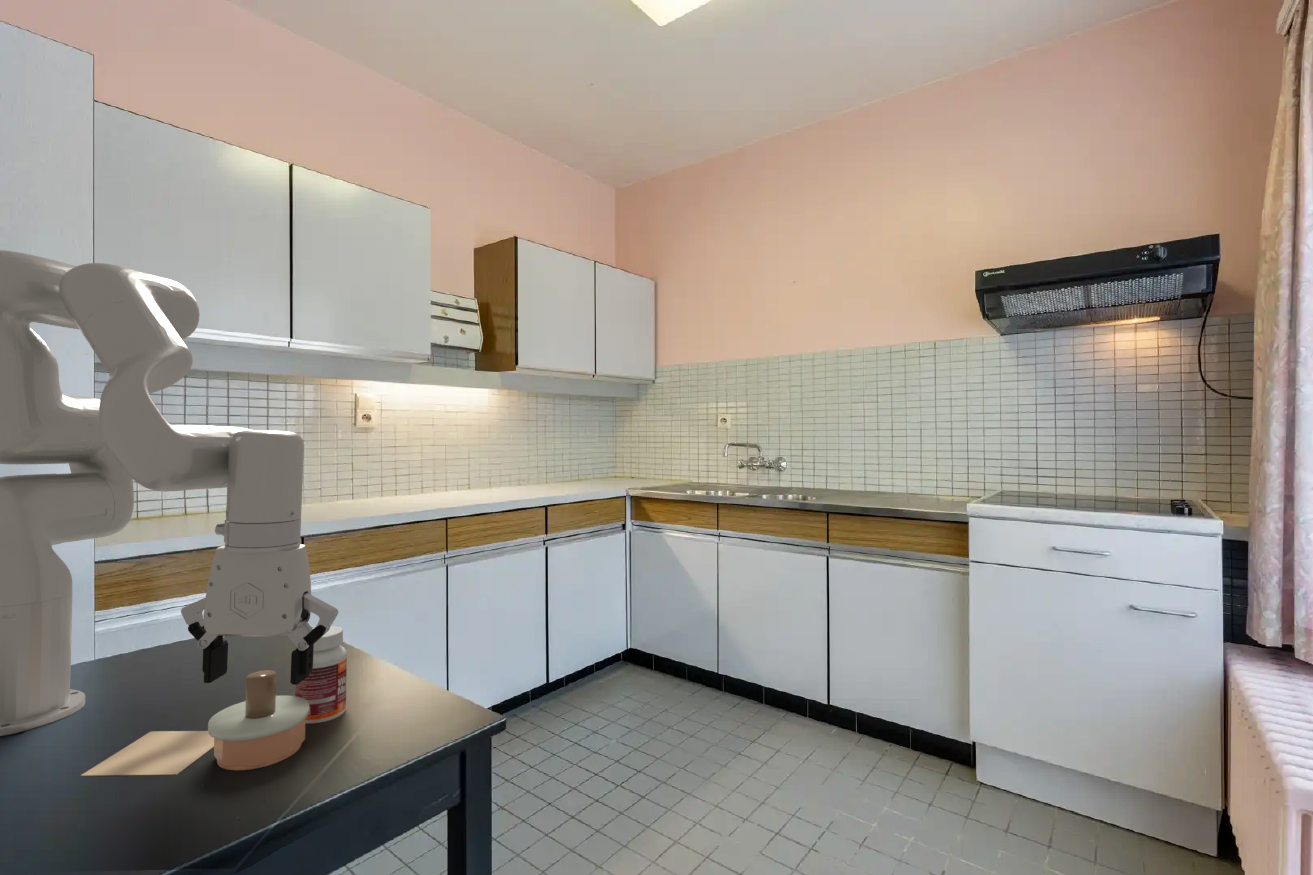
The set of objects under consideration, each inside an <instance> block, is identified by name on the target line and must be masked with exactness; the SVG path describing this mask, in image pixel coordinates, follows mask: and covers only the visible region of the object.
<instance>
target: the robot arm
mask: <svg viewBox="0 0 1313 875" xmlns="http://www.w3.org/2000/svg"><path fill="white" fill-rule="evenodd" d="M199 322H200V309H199V305H198V301H197V299H196V298H195V297H194V295H193V294H192V292H191V291H190V290H189V289H187V287H186V286H184V285H182V283H179V282H178V281H175V280H172V279H169V278H166V277H163V276H160V275H159V276H158V275H155V274H150V273H147V272H144V271H139V270H137V269H131V268H129V267H125V266H120V265H117V264H110V263H105V262H104V263H103V262H95V263H93V262H90V263H83V264H79V265H73V264H69V263H67V262H61V261H58V260H54V259H52V258H51V259H50V258H46V257H42V256H37V255H34V254H28V253H23V252H17V251H11V250H5V249H4V250H1V249H0V465H55V464H56V465H57V464H62V465H64V464H68V466H69V470H70V473H69V472H68V473H36V474H18V475H17V474H15V475H7V476H1V477H0V737H3V736H8V735H13V734H17V733H21V732H22V733H23V732H26V731H30V730H32V729H35V728H39V727H42V726H45V725H49V724H53V723H54V722H57V721H59V720H62V719H65V718H67V717H68V716H71V715H73V714H74V713H77V712H78V711H79V710H81V709H82V708H83V707H84V706H85V704H86V694H85V693H84V691H83V692H82V691H81V690H78V689H71V677H72V676H71V672H72V671H71V670H72V667H71V666H72V665H71V664H72V624H73V623H72V622H73V621H72V620H73V619H72V618H73V578H72V573H71V570H70V569H69V567H68V565H67V564H66V562H64V561H63V560H62V558H61V557H60V556H59V555H58V554H57V552H56V551H55V550H54V549H53V546H54V545H61V544H64V543H70V542H80V541H85V540H91V539H92V540H95V539H98V538H105V537H109V536H112V535H115V534H117V533H118V532H121V531H122V530H123V529H124V528H126V526H128V524H129V522H130V520H131V518H132V515H133V512H134V504H135V491H134V482H136V483H137V484H138V485H140V486H141V487H144V488H146V489H148V490H151V491H156V492H165V493H166V492H181V491H182V492H183V491H192V490H193V491H194V490H204V489H222V488H223V489H224V488H226V504H225V505H226V506H225V507H226V509H225V520H224V523H221V522H220V523H216V525H215V528H214V532H215V534H216V535H217V536H223V542H224V545H221V546H218V547H216V550H215V554H214V555H213V556H214V557H213V559H212V562H211V563H212V564H211V567H210V569H209V570H210V571H209V575H208V580H207V586H206V591H205V592H206V593H205V597H203V598H201V599H199V600H197V601H194V602H192V603H190V604H188V605H186V606H184V607H182V608H181V609H180V614H181V615H182V618H183V619H184V621H185V623H186V624H185V625H187V631H188V632H189V634H190V635H192V637H194V639H195V640H197V646H198V648H200V649H201V650H203V651H202V668H201V669H202V672H203V683H204V684H210V683H212V682H214V681H215V680H216V681H217V679H220V678H221V677H222V676H224V675H226V674H227V672H228V656H229V655H228V654H229V643H228V640H226V639H224V638H225V637H259V638H260V637H262V638H264V637H268V638H271V637H272V638H274V637H284V636H287V637H288V639H289V640H290V641H291V643H293V644H294V646H295V647H296V648H295V649H294V650H292V652H291V657H290V660H291V661H290V681H289V682H290V684H291V685H294V686H295V685H297V684H299V683H300V682H301V681H303V680H304V679H305V678H307V677H308V676H309V674H310V673H311V671H312V669H313V651H314V643H316V642H317V641H318V640H319V639H320V638H321V637H322V636H323V635H324V634H325V633H326V632H328V631H329V629H330V626H333V625H332V624H333V623H334V621H335V620H336V618H337V616H338V615H339V610H338V608H336V607H334V606H332V605H330V604H329V603H327V602H326V601H323V600H322V599H319V598H318V597H316V596H314V595H313V594H312V584H311V583H312V580H311V569H310V564H309V562H310V561H309V557H308V552H307V548H306V544H301V535H302V534H301V532H302V508H303V507H302V505H303V502H302V501H303V478H304V461H305V460H304V458H305V444H304V440H303V438H302V436H301V435H300V434H298V433H297V432H294V431H293V432H292V431H285V430H272V429H271V430H269V429H268V430H267V429H265V430H264V429H250V428H247V427H239V426H225V425H224V426H223V425H222V426H221V425H217V426H216V425H202V424H201V425H200V424H199V425H197V424H195V425H194V424H170V423H169V422H168V421H167V419H166V418H165V417H164V416H163V414H162V413H161V411H160V410H159V408H158V407H157V405H156V404H155V402H154V401H153V399H152V397H151V395H150V394H153V393H156V392H160V391H161V390H165V389H167V388H169V387H172V386H173V385H174V384H176V383H177V382H179V381H180V380H182V379H183V378H184V377H185V376H186V375H187V374H188V373H189V372H190V371H191V369H192V366H193V361H194V359H193V355H192V354H193V353H191V350H190V349H189V347H188V346H187V345H186V343H185V342H184V340H185V339H187V338H188V337H190V336H191V335H192V334H193V333H194V332H195V331H196V329H197V328H198V325H199ZM30 323H37V324H45V325H50V326H55V327H62V328H66V329H67V328H69V329H74V330H80V332H81V334H82V335H83V336H84V339H85V340H86V341H87V343H88V344H89V345H90V348H91V349H92V351H93V352H94V354H95V356H97V358H98V359H99V361H100V362H101V364H102V366H103V367H104V368H105V370H106V372H107V373H108V375H109V376H110V377H109V379H108V380H107V382H106V384H105V385H104V387H103V389H102V392H101V395H100V398H96V397H90V396H76V395H75V396H73V395H65V394H64V393H63V391H62V389H61V385H60V374H59V372H60V371H59V370H60V369H59V364H58V360H57V358H56V356H55V354H54V352H53V351H52V349H50V346H49V345H48V344H47V343H46V341H45V340H44V339H43V338H42V337H41V336H40V335H39V334H38V333H37V332H36V331H35V330H34V329H32V327H31V326H30ZM311 613H312V614H314V615H316V616H318V618H319V619H318V622H317V624H316V625H315V627H312V626H311V624H310V623H309V621H310V619H311ZM313 628H314V629H313Z"/></svg>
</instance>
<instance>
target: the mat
mask: <svg viewBox="0 0 1313 875" xmlns="http://www.w3.org/2000/svg"><path fill="white" fill-rule="evenodd" d="M212 749H214V738H213V737H211V736H210V735H209V733H208V730H179V731H178V730H176V731H175V730H170V731H169V730H164V731H163V730H159V731H157V730H156V731H155V730H154V731H153V730H152V731H149V732H147V733H146V734H144V735H143V736H142V737H140V738H138V739H136V740H134V741H133V742H131V743H130V744H128V745H127V746H125V747H124V748H122V749H120V750H119V751H117V752H115V753H114V754H113V755H110V756H109V757H107V758H106V759H104V760H103V761H101V762H99V763H98V764H97V765H95V766H92V768H90V769H88V770H87V771H85V772H84V773H81V774H80V777H100V776H101V777H103V776H104V777H106V776H107V777H111V776H112V777H114V776H115V777H116V776H118V777H120V776H121V777H123V776H126V777H127V776H178V775H179V774H180V773H182V772H183V771H184V770H185V769H186V768H187V769H188V768H189V766H191V765H192V764H193V763H195V762H196V761H197V760H198V759H200V758H201V757H203V756H204V755H205V754H207V753H208V752H209V751H211V750H212Z"/></svg>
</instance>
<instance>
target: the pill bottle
mask: <svg viewBox="0 0 1313 875" xmlns="http://www.w3.org/2000/svg"><path fill="white" fill-rule="evenodd" d="M312 628H313V629H314V628H315V627H312ZM343 643H344V630H343V628H342V627H340V626H336V625H335V626H334V625H331V626H330V629H329V631H328V632H326V633H325V634H324V635H323V636H322V637H321V638H320V639H319V640H318V641H317V642H316V643H314V651H313V669H312V671H311V673H310V674H309V676H308V677H307V678H305V679H304V680H303V681H301V682H300V683H299V684H297V685H294V695H293V696H297V697H301V698H304V699H306V700H307V701H308V702H309V714H308V716H307V717H306V718H305V724H317V723H324V722H328V721H331V720H334V719H337V718H339V717H341V716H342V715H343V714H344V713H345V712H346V710H347V680H348V679H347V677H348V676H347V675H348V673H347V671H348V670H347V667H348V666H347V661H348V660H347V659H348V655H347V654H348V652H347V649H346V648H345V647H344V646H342V644H343Z"/></svg>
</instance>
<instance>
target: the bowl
mask: <svg viewBox="0 0 1313 875" xmlns="http://www.w3.org/2000/svg"><path fill="white" fill-rule="evenodd" d="M305 740H306V723H305V719H304V720H303V721H302V722H300V723H299V724H297V725H296V726H294V727H292V728H290V729H287V730H285V731H282V732H279V733H276V734H273V735H270V736H266V737H261V738H256V739H250V740H241V741H227V740H219V739H216V738H214V747H213V756H214V757H215V759H216V764H217V765H218V766H219V767H220V768H222V769H225V770H228V771H246V770H248V771H249V770H255V769H259V768H263V767H267V766H268V767H269V766H271V765H274V764H277V763H279V762H282V761H283V760H287V759H288V758H291V756H292V755H294V754H295V753H297V752H298V751H299V749H300V748H301V746H302V743H303V742H304V741H305Z"/></svg>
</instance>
